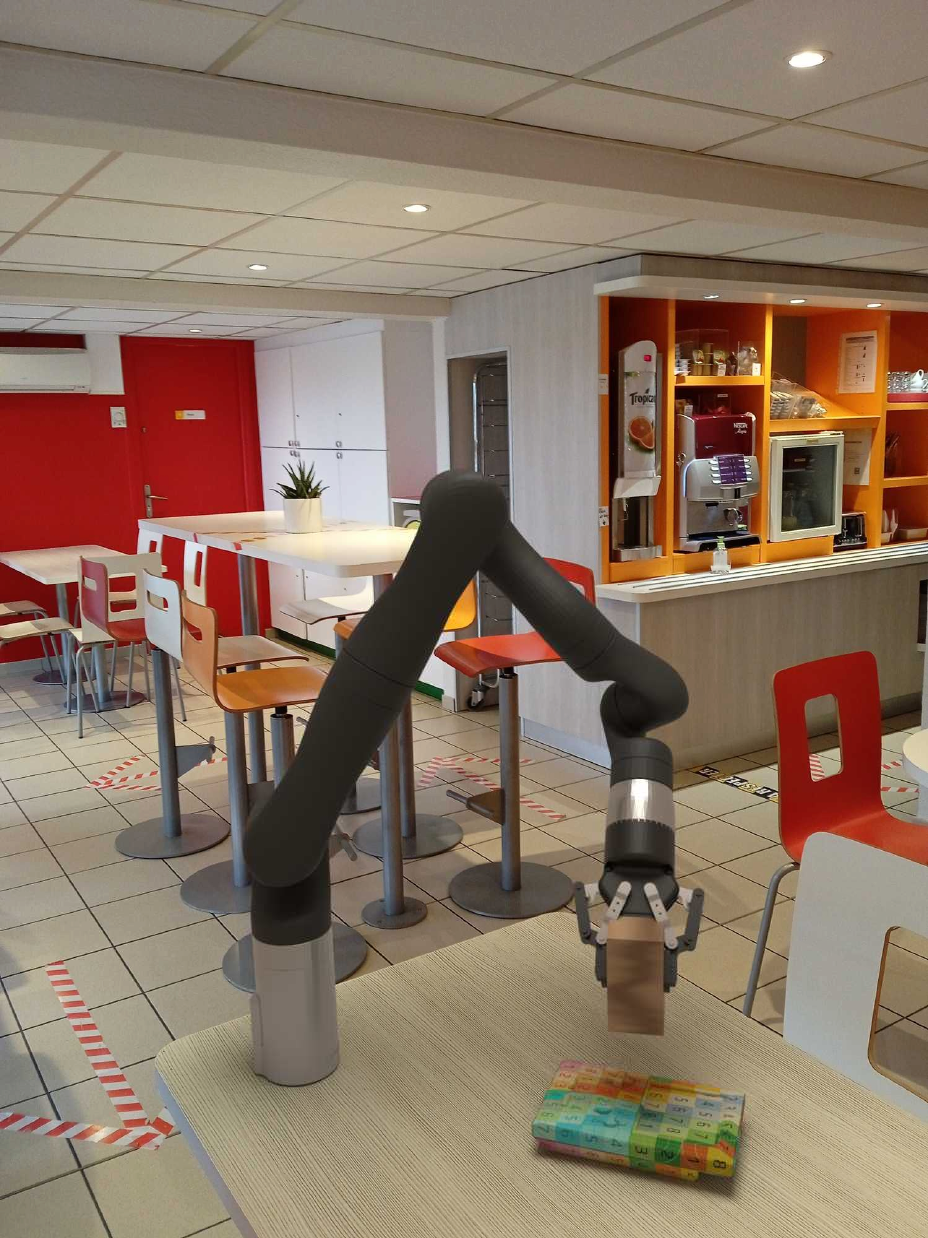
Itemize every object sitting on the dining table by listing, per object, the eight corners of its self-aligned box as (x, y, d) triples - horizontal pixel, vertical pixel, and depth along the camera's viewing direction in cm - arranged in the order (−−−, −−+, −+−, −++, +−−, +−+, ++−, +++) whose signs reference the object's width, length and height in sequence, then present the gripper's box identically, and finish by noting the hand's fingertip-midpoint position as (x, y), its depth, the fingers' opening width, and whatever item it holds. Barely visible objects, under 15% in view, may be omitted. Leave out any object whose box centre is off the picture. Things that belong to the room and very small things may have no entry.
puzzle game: (561, 1053, 115) (745, 1085, 108) (562, 1091, 116) (745, 1126, 109) (531, 1116, 105) (733, 1157, 98) (532, 1158, 105) (733, 1201, 98)
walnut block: (607, 1031, 103) (606, 938, 102) (611, 1002, 109) (610, 913, 107) (663, 1036, 102) (663, 942, 101) (664, 1007, 107) (664, 917, 106)
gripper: (571, 813, 111) (560, 971, 101) (708, 818, 108) (710, 982, 98) (577, 841, 117) (567, 994, 107) (707, 847, 114) (709, 1004, 104)
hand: (635, 987), depth 103 cm, fingers closed on walnut block, 5 cm apart
